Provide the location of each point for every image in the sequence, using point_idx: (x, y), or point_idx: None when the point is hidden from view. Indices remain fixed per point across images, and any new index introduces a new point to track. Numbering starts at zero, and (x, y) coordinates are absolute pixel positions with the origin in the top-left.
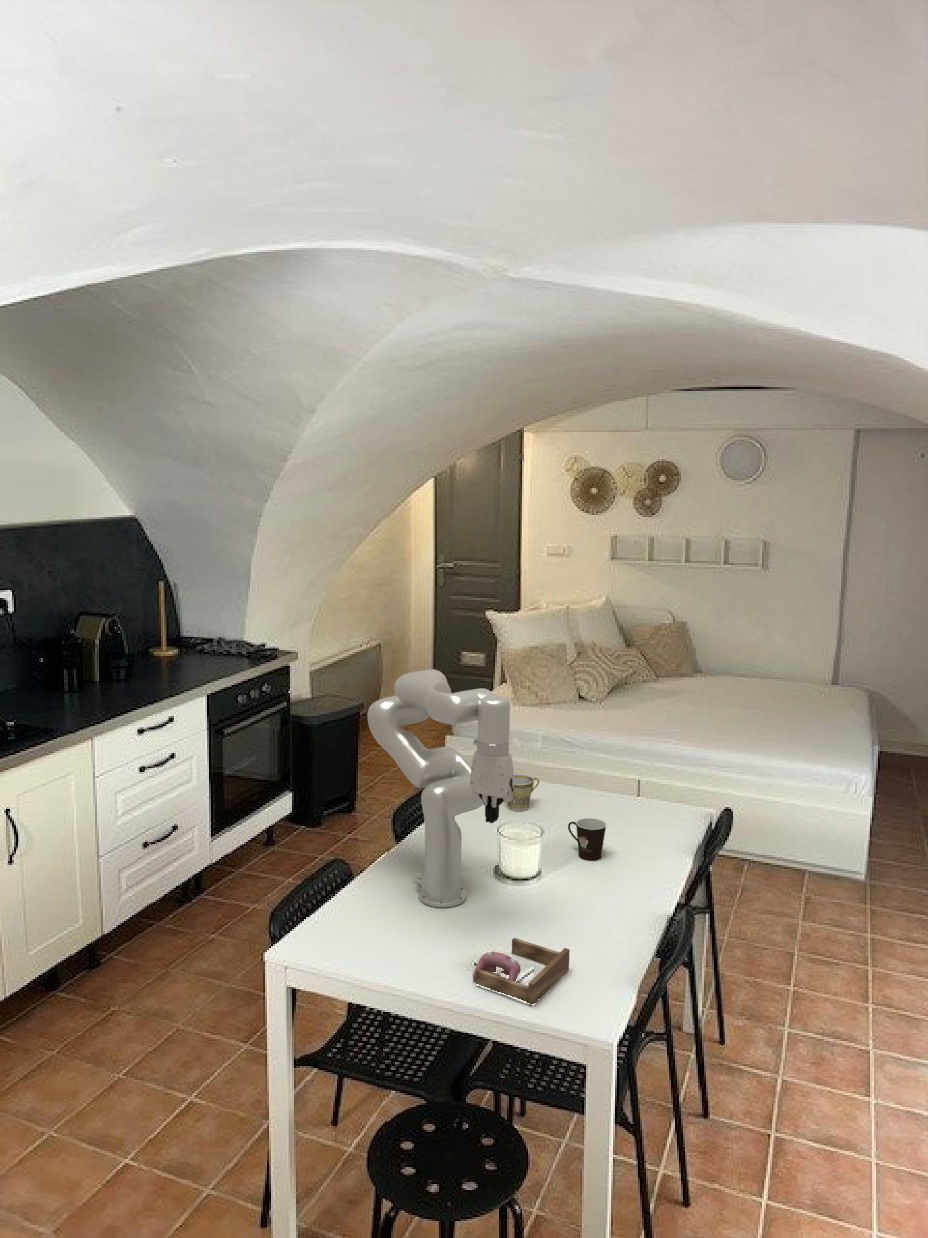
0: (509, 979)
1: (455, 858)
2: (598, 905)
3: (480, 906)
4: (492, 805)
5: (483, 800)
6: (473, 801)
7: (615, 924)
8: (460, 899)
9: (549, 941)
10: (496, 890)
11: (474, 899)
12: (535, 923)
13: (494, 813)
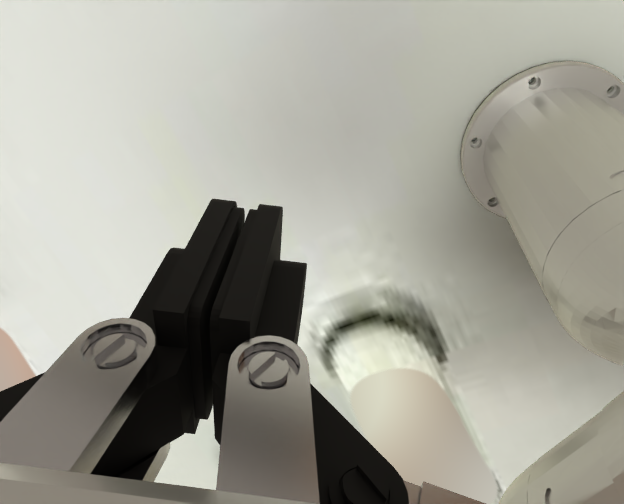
0: None
1: (539, 200)
2: (123, 279)
3: (401, 144)
4: (144, 351)
5: (294, 405)
6: (554, 499)
7: (32, 212)
8: (473, 134)
9: (107, 34)
10: (393, 249)
11: (436, 176)
12: (203, 122)
13: (165, 283)
